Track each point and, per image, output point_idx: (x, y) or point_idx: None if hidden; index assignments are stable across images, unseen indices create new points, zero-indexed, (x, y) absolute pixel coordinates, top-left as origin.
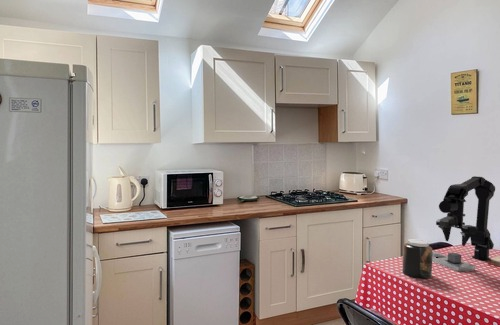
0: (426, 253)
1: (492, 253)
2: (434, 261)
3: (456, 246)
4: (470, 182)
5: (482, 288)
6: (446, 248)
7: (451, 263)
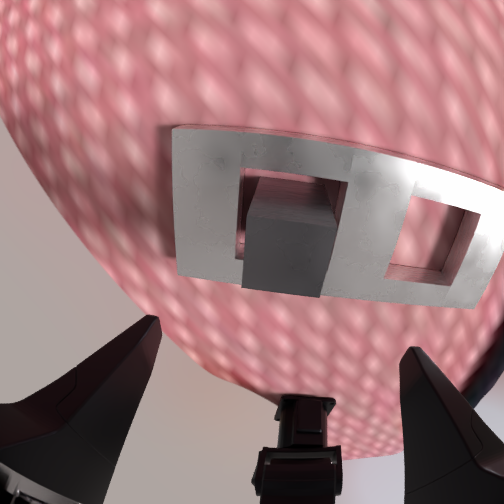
0: None
1: None
2: (408, 156)
3: None
4: None
5: (8, 62)
6: None
7: (266, 162)
